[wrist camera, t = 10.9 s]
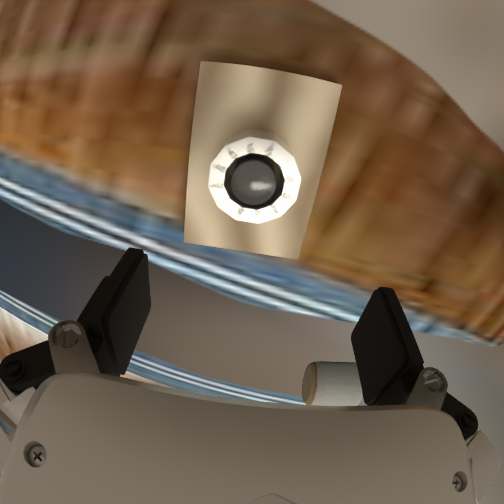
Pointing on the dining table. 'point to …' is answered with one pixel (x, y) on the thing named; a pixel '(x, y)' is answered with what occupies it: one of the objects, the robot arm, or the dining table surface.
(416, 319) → the dining table surface
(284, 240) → the block
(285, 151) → the ring
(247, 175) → the dark domed cylinder
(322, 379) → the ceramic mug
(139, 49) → the dining table surface
